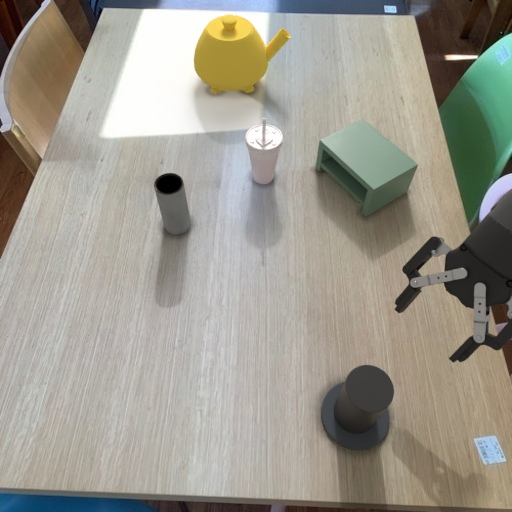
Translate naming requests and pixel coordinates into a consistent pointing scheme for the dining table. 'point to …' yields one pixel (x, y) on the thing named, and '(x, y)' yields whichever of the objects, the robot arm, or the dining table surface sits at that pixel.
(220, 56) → the teapot
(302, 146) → the dining table surface
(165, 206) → the planter
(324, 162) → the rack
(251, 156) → the smoothie
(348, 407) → the dark grey cylinder
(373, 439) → the coaster
